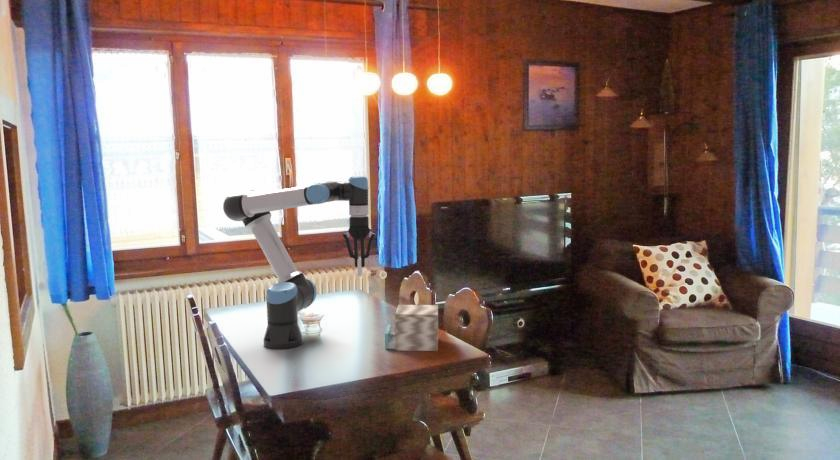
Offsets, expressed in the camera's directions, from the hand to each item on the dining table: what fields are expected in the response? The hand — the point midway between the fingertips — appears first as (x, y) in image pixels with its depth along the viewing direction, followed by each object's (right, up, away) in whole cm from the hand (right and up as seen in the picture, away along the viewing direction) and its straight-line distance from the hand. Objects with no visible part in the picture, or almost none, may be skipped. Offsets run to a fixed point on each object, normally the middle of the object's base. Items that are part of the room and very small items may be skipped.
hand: (359, 275), depth 258 cm
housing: (+23, -27, -4) cm, 36 cm away
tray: (+20, -27, -4) cm, 34 cm away
